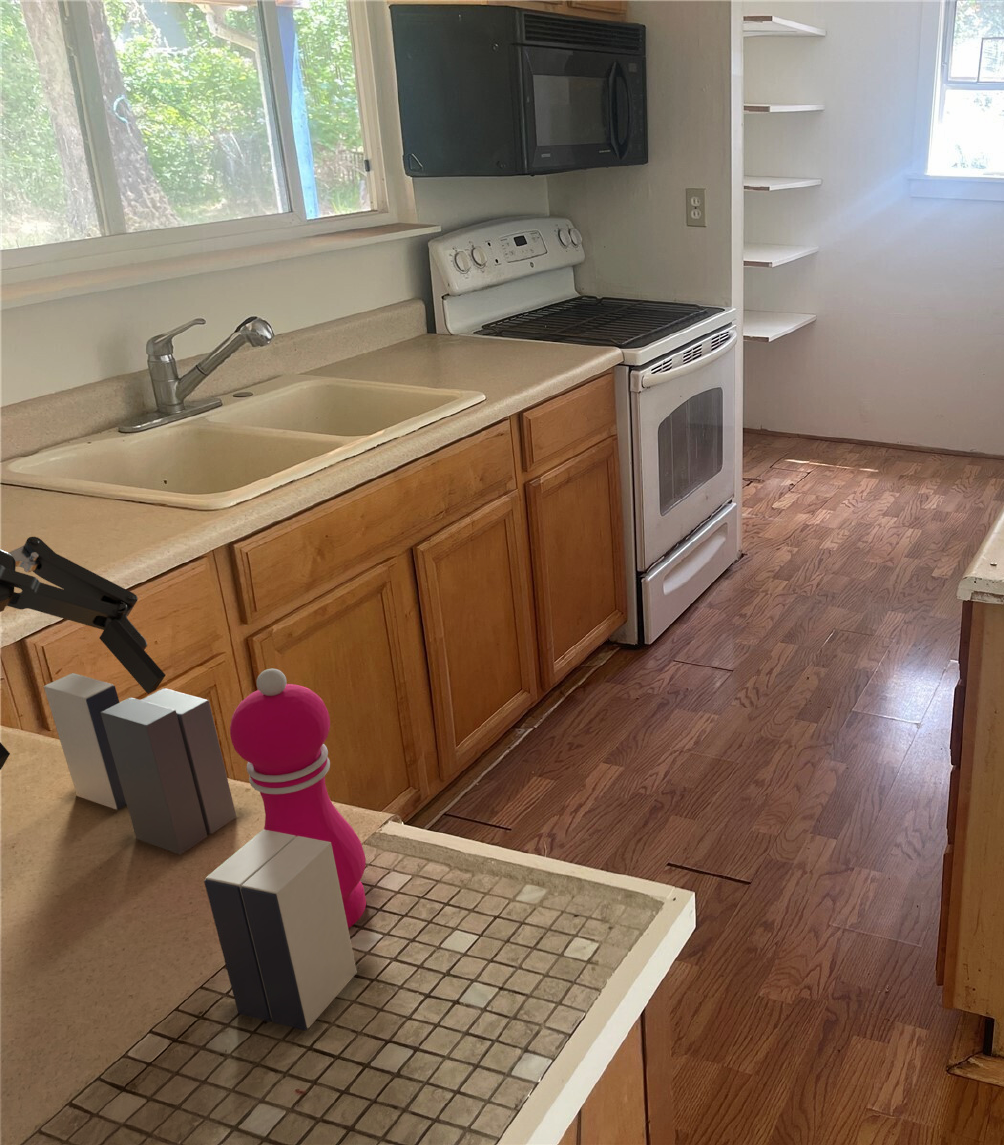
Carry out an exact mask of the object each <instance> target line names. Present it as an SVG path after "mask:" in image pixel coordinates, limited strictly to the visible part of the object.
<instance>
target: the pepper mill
mask: <svg viewBox="0 0 1004 1145" xmlns="http://www.w3.org/2000/svg"><path fill="white" fill-rule="evenodd" d="M287 681H288V680H287V676H286V675H285V673H283V671H281V670H280V669H277V668H267V669H265V670H262V671H261V672H260V674H258V676H257V678H256V687H257V690H255V691H253V692H251V693H250V694H249V695H247V696H246V697H245V698H243V699H242V700H241V701H240V703H239V704H238V705H237V706H236V708H235V710H234V712H233V714H232V716H231V720H230V725H229V734H230V740H231V743H232V746H233V749H234V750H235V752H236V753H237V755H239V756H240V757H241V758H242V759H243V760H244V761H246V762H247V763H246V771H247V774H248V775H249V778H248V782H249V785H250V786H251V788H253V789H254V790H255V791H257V792H259V793H260V797H261V798H262V801H263V807H264V813H265V815H264V816H265V817H264V827H263V829H264V830H269V831H274V832H280V833H285V834H290V835H295V836H296V837H297V836H301V837H306V838H311V839H317V840H322V841H327V842H331V845H332V850H333V855H334V860H335V865H336V870H337V875H338V880H339V885H340V890H341V895H342V900H343V905H344V910H345V915H346V920H347V925H348V929H350V928H351V927H352V926H354V924H356V923H357V922H358V921H359V920H360V919H361V918H362V915H363V914H364V913H365V910H366V907H367V899H366V893H365V888H364V885H363V882H362V881H361V880H362V878H363V875H364V873H365V870H366V864H367V863H366V859H367V858H366V854H365V851H364V848H363V844H362V842H361V840H360V838H359V836H358V834H357V833H356V831H355V829H354V828H353V827H352V825H351V824H350V823H349V822H348V821H347V819H346V818H344V816H343V815H342V814H341V813H340V812H339V810H338V809H337V807H336V806H335V805H334V804H333V802H332V800H331V798H330V796H329V793H328V789H327V786H326V775H327V774H328V773H329V770H330V768H331V761H330V758H329V756H328V755H329V751H328V750H329V749H328V747H327V746H326V744H325V742H326V740H327V739H328V736H329V733H330V728H331V719H330V718H331V717H330V713H329V710H328V708H327V706H326V704H325V702H324V700H323V699H322V698H321V697H320V696H319V694H317V693H316V692H315V691H313V690H312V689H310V688H308V687H306V686H302V685H299V684H294V683H287Z"/></svg>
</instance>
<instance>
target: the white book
mask: <svg viewBox="0 0 1004 1145" xmlns="http://www.w3.org/2000/svg"><path fill="white" fill-rule="evenodd" d="M43 689H44V692H45V695H46V699H47V703H48V705H49V708H50V712H51V715H52V719H53V723H54V726H55V728H56V732H57V736H58V739H59V742H60V745H61V748H62V752H63V755H64V758H65V762H66V764H67V768H68V771H69V775H70V778H71V782H72V785H73V788H74V792H75V794H76V796H77V797H79V798H82V799H84V800H87V801H90V802H93V803H97V804H99V805H102V806H105V807H107V808H110V809H113V810H118V811H119V810H122V809H123V808H124V807H127V804H126V801H125V797H124V794H123V790H122V786H121V783H120V779H119V776H118V772H117V769H116V765H115V762H114V758H113V755H112V751H111V748H110V744H109V741H108V737H107V734H106V730H105V727H104V723H103V720H102V716H101V712H102V711H104V710H106V709H108V708H110V707H112V706H114V705H116V704H118V703H120V702H121V701H120V699H119V695H118V691H117V688H116V685H114V684H113V683H110V682H106V681H103V680H100V679H95V678H92V677H89V676H85V675H82V674H78V673H74V672H72V673H69V674H67V675H65V676H63V677H60V678H58V679H56V680H54V681H51V682H49V683H48V684H45V685H44V686H43Z"/></svg>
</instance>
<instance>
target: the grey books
mask: <svg viewBox="0 0 1004 1145" xmlns="http://www.w3.org/2000/svg"><path fill="white" fill-rule="evenodd" d="M119 702H120V703H118V704H116V705H114V706H112V707H110V708H108V709H106V710H104V711H102V712H101V716H102V720H103V723H104V727H105V730H106V734H107V737H108V741H109V744H110V748H111V751H112V755H113V758H114V762H115V765H116V769H117V772H118V776H119V779H120V783H121V786H122V790H123V794H124V797H125V801H126V804H127V805H126V807H127V808H126V809H127V812H128V815H129V817H130V822H131V825H132V828H133V833H134V836H135V839H136V840H139V841H141V842H144V843H147V844H149V845H152V846H155V847H158V848H161V849H163V850H167V851H169V852H171V853H174V854H178V855H182V854H183V853H185V852H187V851H188V850H190V849H192V848H193V847H194V846H196V845H197V844H199V843H200V842H202V841H203V840H205V839H206V838H208V834H209V835H212V834H214V833H216V832H217V831H219V830H220V829H221V828H223V827H224V826H226V825H228V824H229V823H230V822H232V821H233V820H235V819H236V818H237V812H236V809H235V805H234V800H233V796H232V792H231V787H230V783H229V779H228V775H227V771H226V766H225V763H224V758H223V754H222V750H221V745H220V741H219V738H218V734H217V729H216V724H215V721H214V716H213V712H212V708H211V703H210V700H209V699H206V698H203V697H199V696H195V695H191V694H187V693H184V692H180V691H176V690H173V689H169V688H166V687H163V688H161V689H159V690H157V691H156V692H155V691H154V692H152V693H150V694H148V695H147V696H146V697H143V698H142V699H139V698H134V697H128V698H126V699H124V700H121V701H119Z"/></svg>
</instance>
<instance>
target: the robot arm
mask: <svg viewBox="0 0 1004 1145" xmlns="http://www.w3.org/2000/svg"><path fill="white" fill-rule="evenodd" d="M16 567H18V568H22V569H23V571H24V572H25V573H23V572H20V571H17V570H16V569H17V568H16ZM32 572H33V573H34V574H35V575H37V576H38V577H39V578H41V579H43V580H45V581H46V582H48V583H50V584H52V585H50V584H47V583H44V582H41V581H40V580H39V579H38V578H37V577H36V576H33V575H30V574H27V573H32ZM54 585H55V586H54ZM15 588H17V589H20V590H21V591H20V592H15ZM138 598H139V597H138V595H137V594H136V593H134V592H132V591H130V590H128V589H126V588H124V587H123V586H120V585H119V584H117V583H115V582H112V581H111V580H109V579H107V578H105V577H103V576H101V575H99V574H97V573H95V572H93V571H91V570H89V569H88V568H86V567H83V566H81V565H79V564H78V563H76V562H74V561H72V560H70V559H68V558H66V557H64V556H62V555H60V554H58V553H56V552H55V551H54V550H53V549H52V548H51V547H50V546H48V544H47V543H45V542H44V541H43V540H42V539H41V538H39V537H37V536H29V537H27V538H26V541H25V543H24V545H22V546H19V547H17V548H15V549H13V550H11V551H9V552H8V551H6V550H3V549H1V548H0V613H1V612H3V611H5V608H6V607H9V608H13V609H16V610H25V609H29V610H33V611H36V612H39V613H44V614H46V615H50V616H53V617H57V618H60V619H64V620H67V621H71V622H74V623H77V624H82V625H83V626H84V625H85V626H88V627H92V628H95V629H99V630H102V633H101V634H100V636H99V640H100V641H101V643H103V644H104V646H105V647H106V648H107V649H108V650H109V652H110V653H111V654H112V655H113V656H114V657H115V658H116V659H117V660H118V662H119V663H120V664H121V665H122V666H123V667H124V669H125V670H126V671H127V672H128V673H129V674H130V675H131V677H132V678H133V679H134V680H135V681H136V683H138V685H140V687H141V688H142V689H143V691H144V692H146V694H147V695H150V694H152V693H154V692H155V691H156V690H157V689H158V687H159V686H160V685H161V683H162V682H163V680H164V678H165V677H166V674H165V672H164V671H163V670H162V669H161V668H160V666H158V664H157V663H156V662H155V661H154V660H153V659H152V658H151V657H150V655H149V654H148V652H146V651H145V650H146V649H147V647H148V642H147V639H146V638H145V637H144V636H143V635H142V634H141V632H139V630H138V629H137V628H136V627H135V626H134V625H133V623H132V622H131V621H130V620H129V619H128V617H129V615H130V614H131V612H132V610H134V607H135V606H136V604H137V603H138V600H139V599H138ZM10 755H11V753H10V751H8V749H7V748H6V747H5V746H4V744H2V743H1V741H0V771H1V770H2V769H3V767H4V765H5V763H6V762H7V760H8V758H9V756H10Z"/></svg>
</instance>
